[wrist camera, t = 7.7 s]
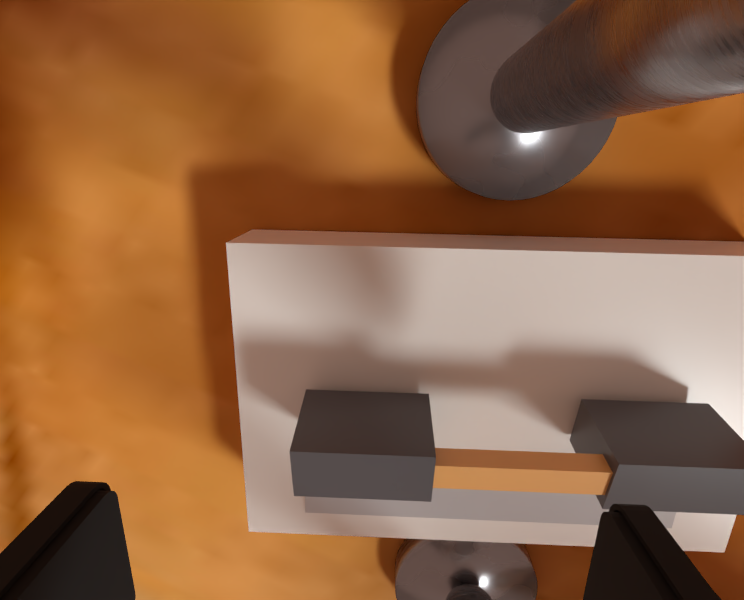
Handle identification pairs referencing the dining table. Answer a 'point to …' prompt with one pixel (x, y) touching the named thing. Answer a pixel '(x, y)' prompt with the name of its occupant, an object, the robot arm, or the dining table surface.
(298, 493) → the square dumbbell
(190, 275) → the dining table surface
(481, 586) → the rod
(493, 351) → the panel
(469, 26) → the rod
